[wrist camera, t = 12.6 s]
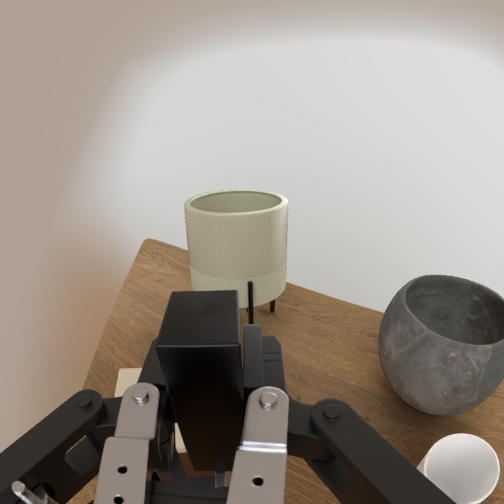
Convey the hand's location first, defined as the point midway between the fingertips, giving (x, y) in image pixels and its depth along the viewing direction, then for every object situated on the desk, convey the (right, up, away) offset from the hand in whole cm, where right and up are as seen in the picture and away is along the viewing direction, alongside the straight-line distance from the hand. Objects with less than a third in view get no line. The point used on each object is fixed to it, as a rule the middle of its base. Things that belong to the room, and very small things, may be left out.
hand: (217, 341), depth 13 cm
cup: (+18, -25, +8) cm, 32 cm away
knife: (0, -13, +2) cm, 13 cm away
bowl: (+28, -17, +26) cm, 42 cm away
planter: (-1, -10, +43) cm, 44 cm away
